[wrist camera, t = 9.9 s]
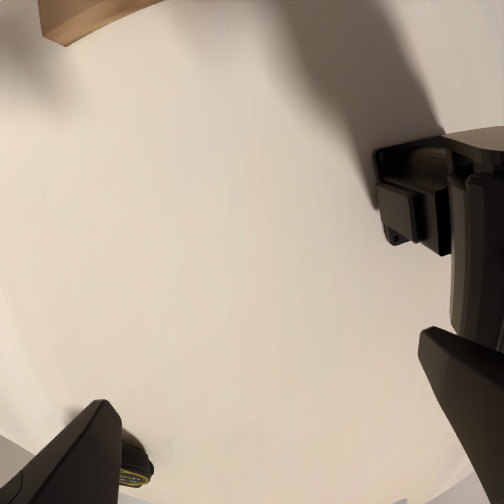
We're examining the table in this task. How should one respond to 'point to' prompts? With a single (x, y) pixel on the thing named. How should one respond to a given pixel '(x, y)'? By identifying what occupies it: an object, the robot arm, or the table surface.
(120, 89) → the table surface
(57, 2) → the walnut plinth
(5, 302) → the table surface
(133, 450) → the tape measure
